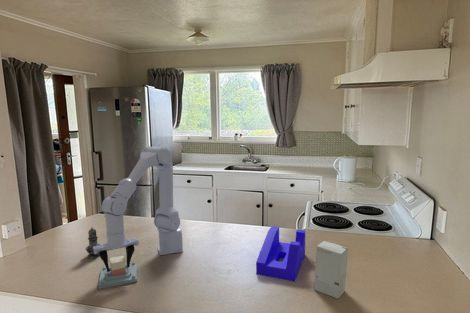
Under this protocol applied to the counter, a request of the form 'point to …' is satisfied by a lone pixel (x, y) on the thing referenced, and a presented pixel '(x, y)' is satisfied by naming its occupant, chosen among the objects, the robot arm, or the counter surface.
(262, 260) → the bracket
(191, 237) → the counter surface
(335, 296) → the skincare box
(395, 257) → the counter surface
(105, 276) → the base plate
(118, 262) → the cream and red block
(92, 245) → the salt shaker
